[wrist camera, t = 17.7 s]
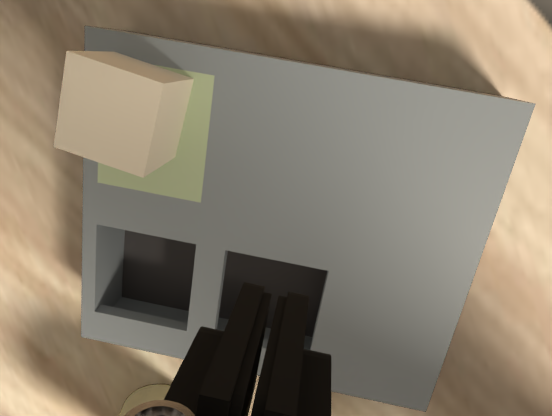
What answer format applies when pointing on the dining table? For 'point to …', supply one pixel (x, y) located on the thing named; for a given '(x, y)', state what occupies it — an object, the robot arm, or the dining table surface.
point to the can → (144, 396)
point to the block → (120, 111)
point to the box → (301, 212)
